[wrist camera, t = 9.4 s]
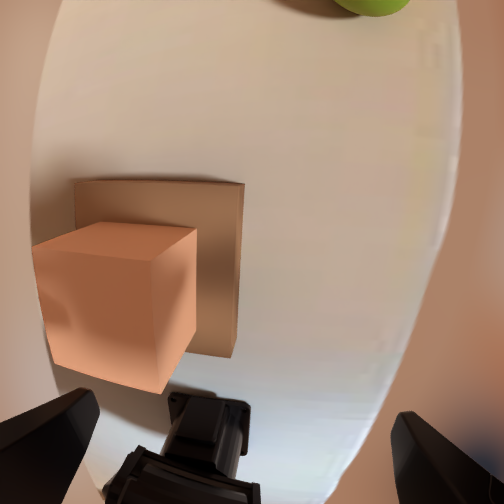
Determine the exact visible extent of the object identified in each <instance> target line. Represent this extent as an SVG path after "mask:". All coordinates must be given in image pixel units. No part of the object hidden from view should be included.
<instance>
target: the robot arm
mask: <svg viewBox="0 0 504 504" xmlns="http://www.w3.org/2000/svg"><path fill="white" fill-rule="evenodd" d="M174 398H175V399H174ZM168 405H169V412H170V418H171V424H172V427H171V429H170V431H169V434H168V436H167V438H166V440H165V443H164V445H163V447H162V450H161V452H160V454H156V453H154V452H151V451H149V450H147V449H146V448H145V447H142V446H140V445H138V447H137V448H136V450H135V451H134V452H131V453H130V454H128V455H127V457H126V459H125V461H124V463H123V465H122V466H121V468H120V470H119V471H118V472H117V473H116V474H115V475H114V476H113V477H112V478H111V479H110V480H109V481H108V482H107V483H106V484H105V485H104V487H103V489H102V493H103V495H104V497H105V499H106V500H105V504H261V496H260V484H258V483H253V482H252V483H248V482H244V481H240V480H236V479H235V477H236V472H237V467H238V462H239V456H245V455H247V452H248V441H249V427H250V414H251V406H250V405H249V404H246V403H240V402H232V401H224V400H217V399H210V398H204V397H197V396H192V395H186V394H180V393H175V392H172V393H170V394H169V396H168ZM243 409H246V410H243ZM99 415H100V409H99V406H98V403H97V400H96V398H95V395H94V393H93V391H92V390H90V389H86V388H82V387H80V388H78V389H75V390H73V391H71V392H69V393H67V394H65V395H62V396H60V397H58V398H56V399H54V400H51V401H49V402H47V403H45V404H43V405H40V406H38V407H36V408H34V409H31V410H29V411H27V412H24V413H22V414H20V415H17V416H15V417H13V418H10V419H8V420H6V421H3V422H1V423H0V504H61V503H62V501H63V499H64V497H65V495H66V493H67V490H68V488H69V486H70V484H71V482H72V480H73V478H74V476H75V474H76V471H77V469H78V467H79V465H80V463H81V461H82V459H83V457H84V455H85V453H86V450H87V448H88V445H89V442H90V440H91V437H92V434H93V431H94V429H95V426H96V423H97V421H98V418H99ZM391 447H392V455H393V466H394V476H395V484H396V489H397V494H398V499H399V504H504V483H502V482H501V481H500V480H498V479H497V478H496V477H494V476H493V475H490V473H489V472H488V471H487V470H485V469H484V468H483V467H482V466H480V465H479V464H478V463H477V462H475V461H474V460H473V459H472V458H470V457H469V456H468V455H467V454H465V453H464V452H463V451H462V450H460V449H459V448H458V447H456V446H455V445H454V444H453V443H452V442H450V441H449V440H448V439H447V438H445V437H444V436H443V435H442V434H440V433H439V432H438V431H437V430H436V429H434V428H433V427H432V426H431V425H429V424H428V423H427V422H426V421H424V420H423V419H422V418H421V417H420V416H418V415H417V414H416V413H415V412H413V411H406V412H400V413H399V414H398V415H397V418H396V420H395V423H394V426H393V428H392V431H391Z"/></svg>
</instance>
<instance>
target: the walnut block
mask: <svg viewBox="0 0 504 504" xmlns="http://www.w3.org/2000/svg"><path fill="white" fill-rule="evenodd" d="M244 187H245V184H238V183H220V182H197V181H164V180H95V181H87V182H79V183H75V219H76V230H78V229H81V228H84V227H86V226H89V225H92V224H95V223H98V222H114V223H129V224H144V225H158V226H172V227H185V228H197V253H196V332H195V334H194V335H193V337H192V339H191V341H190V343H189V344H188V346H187V348H186V350H185V352H189V353H196V354H202V355H209V356H217V357H224V358H231V355H232V352H233V349H234V345H235V342H236V338H237V319H238V299H239V279H240V259H241V241H242V222H243V204H244Z"/></svg>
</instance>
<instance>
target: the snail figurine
mask: <svg viewBox="0 0 504 504" xmlns="http://www.w3.org/2000/svg"><path fill="white" fill-rule="evenodd" d="M334 1H335V2H337V3H338V4H339V5H341V6H342V7H344V8H345V9H347V10H349V11H351V12H354V13H357V14H360V15H364V16H371V17H380V16H386V15H390V14H393V13H395V12H397V11H399V10H401V9H402V8H403V7H404V6H405V5H406V4H407V3H408V2H409V1H410V0H334Z"/></svg>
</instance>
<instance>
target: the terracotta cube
mask: <svg viewBox="0 0 504 504" xmlns="http://www.w3.org/2000/svg"><path fill="white" fill-rule="evenodd" d="M196 253H197V228H185V227H172V226H158V225H144V224H129V223H114V222H98V223H95V224H92V225H89V226H86V227H84V228H81V229H78V230H75V231H72V232H69V233H67V234H64V235H61V236H59V237H56V238H53V239H50V240H48V241H45V242H43V243H40V244H37V245H35V246H32V254H33V263H34V270H35V277H36V283H37V289H38V295H39V301H40V306H41V311H42V316H43V320H44V325H45V329H46V333H47V338H48V342H49V345H50V349H51V353H52V357H53V360H54V363H55V364H58V365H60V366H63V367H66V368H69V369H72V370H75V371H78V372H81V373H84V374H87V375H90V376H93V377H97V378H100V379H103V380H107V381H110V382H114V383H117V384H121V385H124V386H128V387H132V388H136V389H140V390H144V391H148V392H152V393H157V394H161V393H162V391H163V390H164V388H165V386H166V384H167V382H168V381H169V379H170V377H171V375H172V373H173V371H174V370H175V368H176V366H177V364H178V362H179V361H180V359H181V357H182V355H183V353H184V352H185V350H186V348H187V346H188V344H189V343H190V341H191V339H192V337H193V335H194V334H195V332H196Z"/></svg>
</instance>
